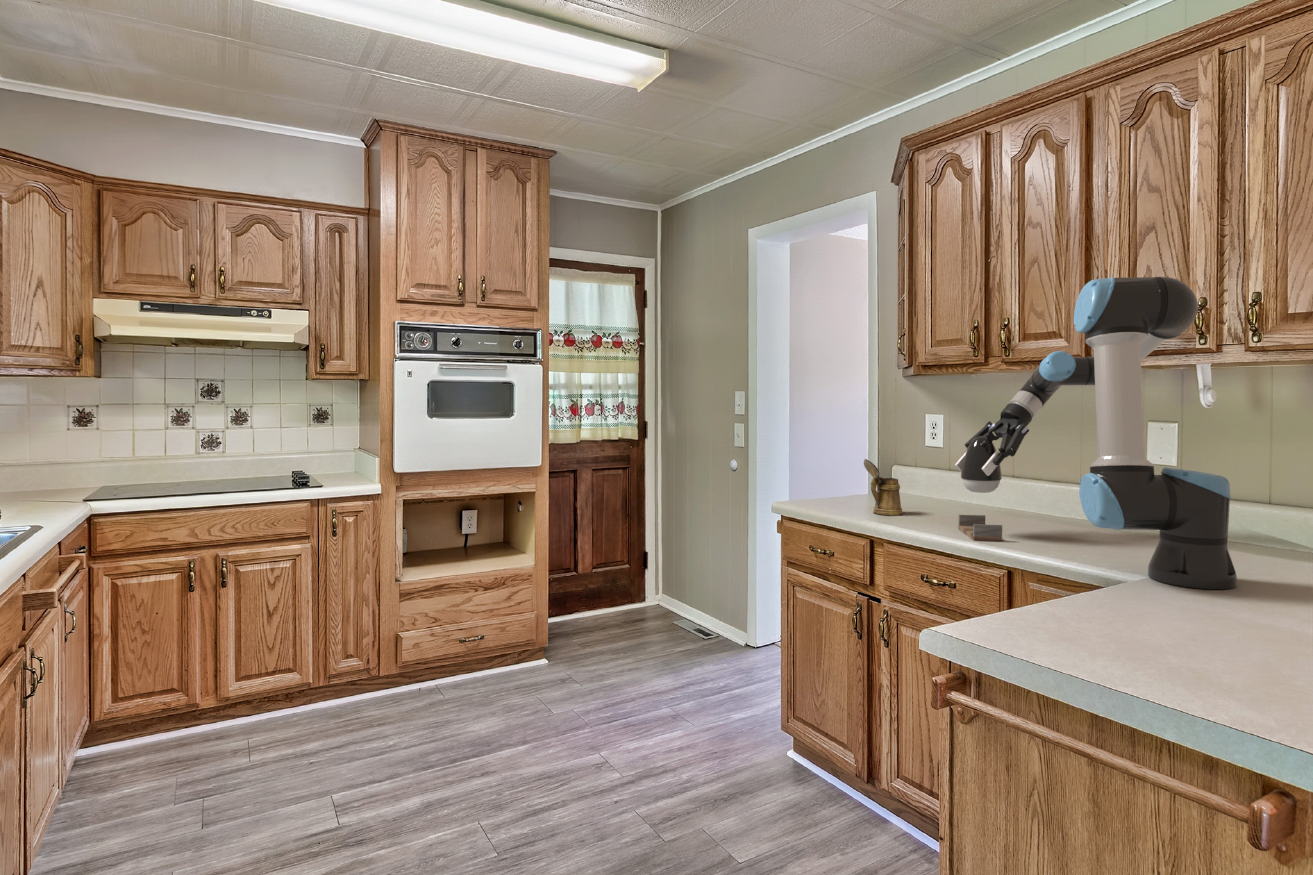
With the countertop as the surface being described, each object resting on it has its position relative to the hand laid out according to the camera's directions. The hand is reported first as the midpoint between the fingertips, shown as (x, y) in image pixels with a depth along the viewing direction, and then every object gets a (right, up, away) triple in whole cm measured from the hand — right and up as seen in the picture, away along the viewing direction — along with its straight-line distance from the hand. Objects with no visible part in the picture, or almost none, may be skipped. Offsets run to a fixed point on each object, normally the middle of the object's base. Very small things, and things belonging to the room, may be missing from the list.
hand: (971, 470), depth 204 cm
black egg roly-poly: (+3, -6, +1) cm, 7 cm away
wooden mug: (-13, -16, +37) cm, 42 cm away
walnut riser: (+3, -18, +2) cm, 18 cm away
